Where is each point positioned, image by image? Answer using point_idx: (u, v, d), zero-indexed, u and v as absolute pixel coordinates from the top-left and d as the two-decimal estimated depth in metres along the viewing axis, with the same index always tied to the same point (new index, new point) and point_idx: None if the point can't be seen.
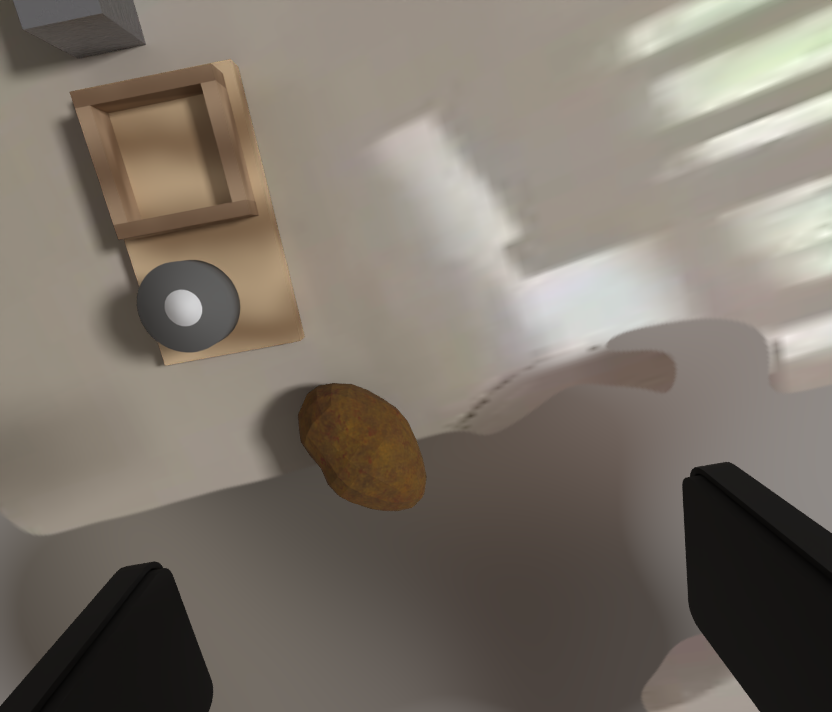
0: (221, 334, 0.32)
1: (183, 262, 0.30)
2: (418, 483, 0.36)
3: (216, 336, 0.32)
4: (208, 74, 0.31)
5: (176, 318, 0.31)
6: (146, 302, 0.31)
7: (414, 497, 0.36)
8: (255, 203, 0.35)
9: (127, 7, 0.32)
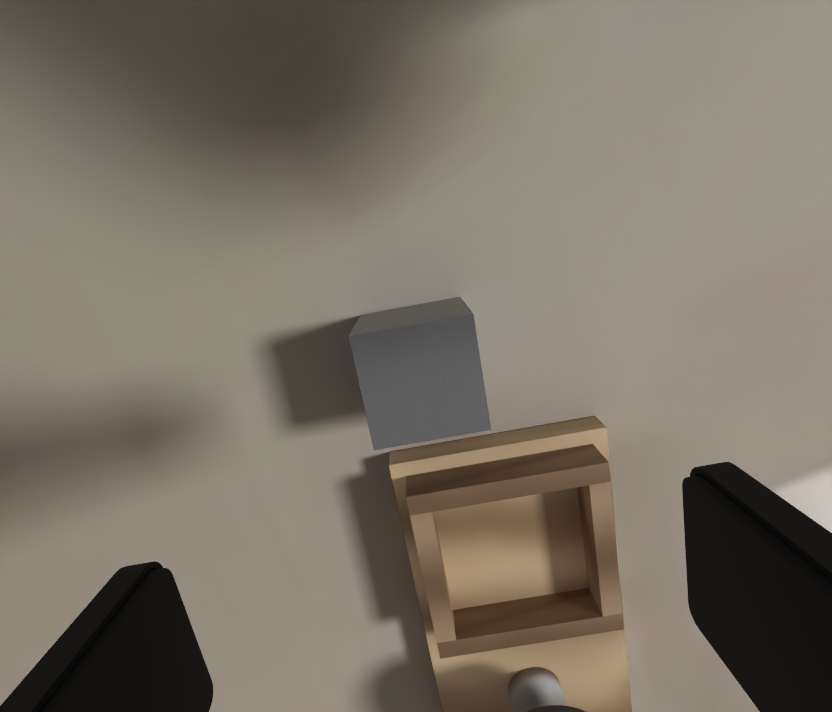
0: None
1: None
2: None
3: None
4: (602, 475, 0.22)
5: None
6: None
7: None
8: None
9: None
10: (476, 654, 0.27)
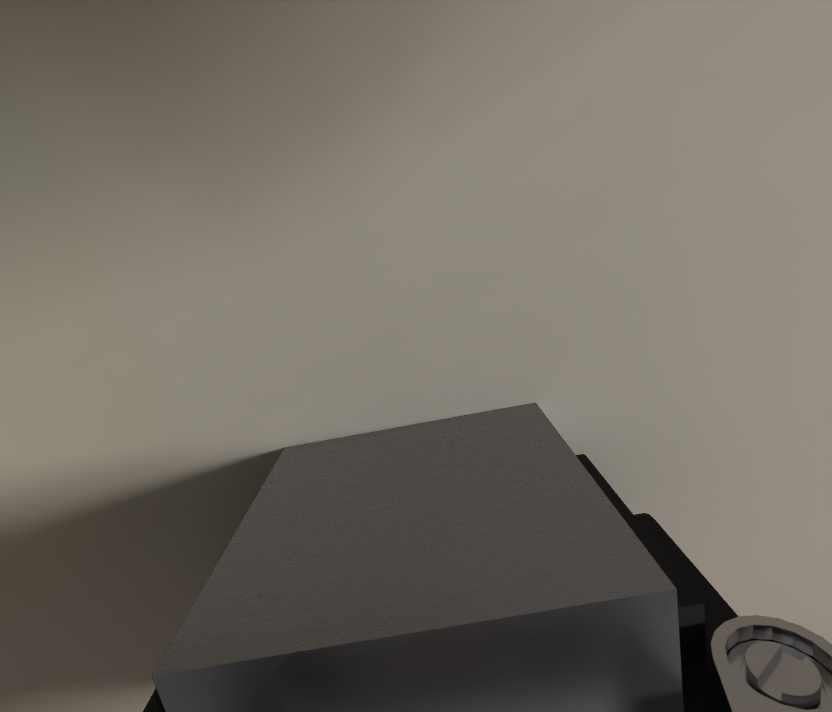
0: None
1: None
2: None
3: None
4: None
5: None
6: None
7: None
8: None
9: None
10: None
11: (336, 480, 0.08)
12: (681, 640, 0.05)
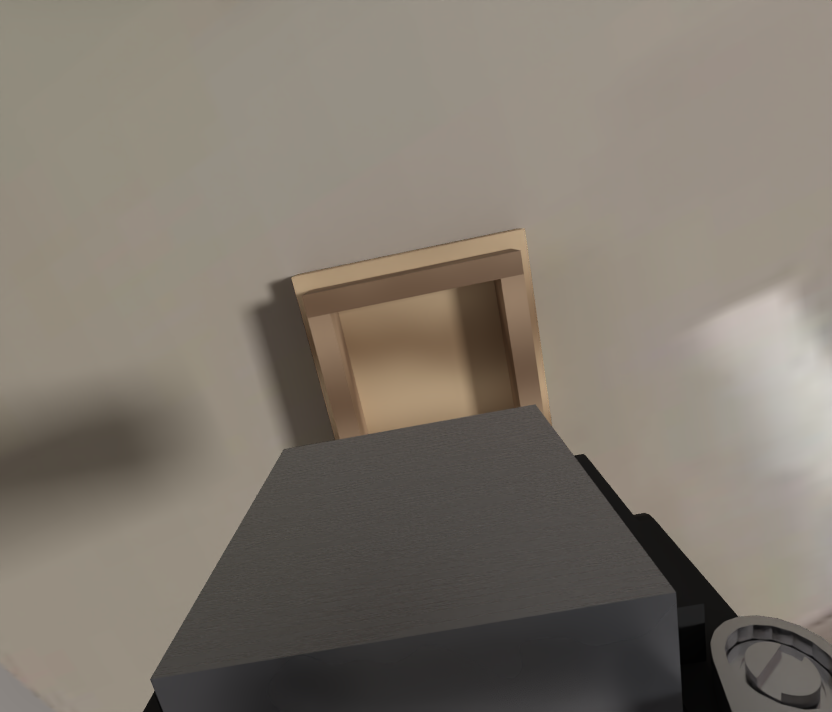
0: None
1: None
2: None
3: None
4: (514, 266, 0.20)
5: None
6: None
7: None
8: None
9: None
10: None
11: (335, 482, 0.08)
12: (681, 640, 0.05)
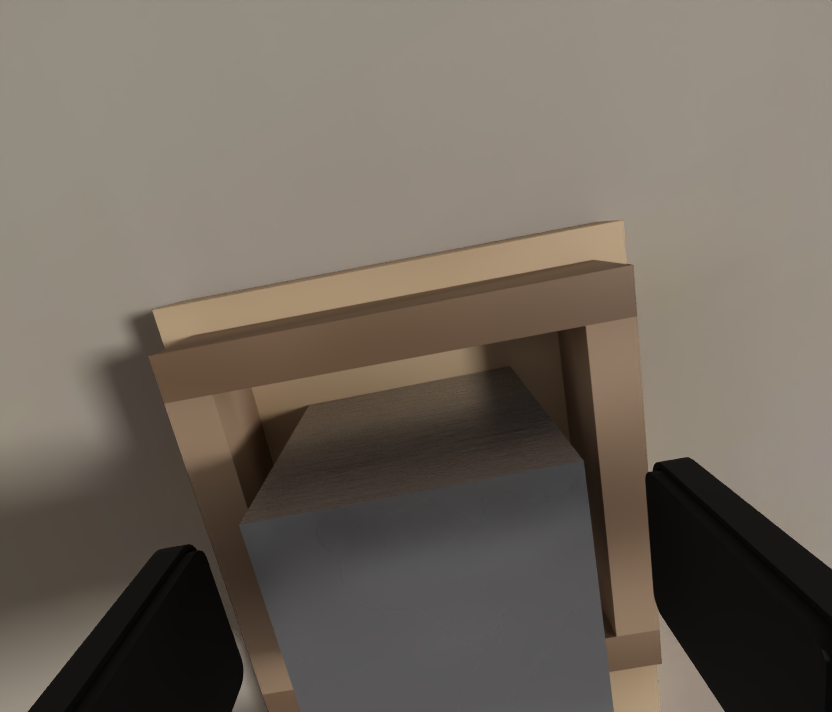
0: None
1: None
2: None
3: None
4: (617, 299, 0.09)
5: None
6: None
7: None
8: None
9: None
10: None
11: (353, 421, 0.10)
12: None
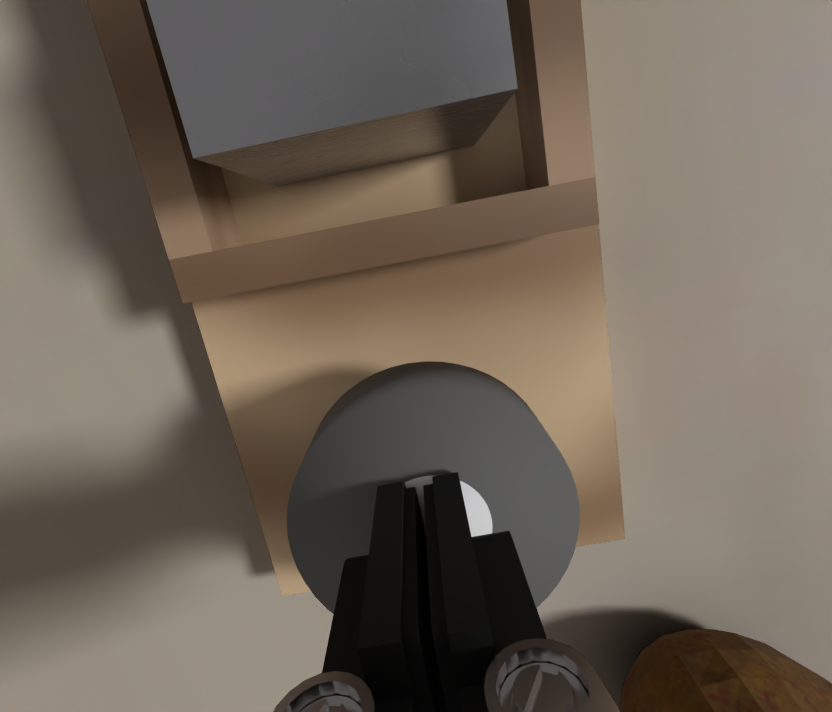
0: (539, 598, 0.10)
1: (450, 391, 0.09)
2: None
3: None
4: None
5: None
6: (317, 513, 0.10)
7: None
8: None
9: None
10: (304, 360, 0.13)
11: None
12: (474, 662, 0.06)
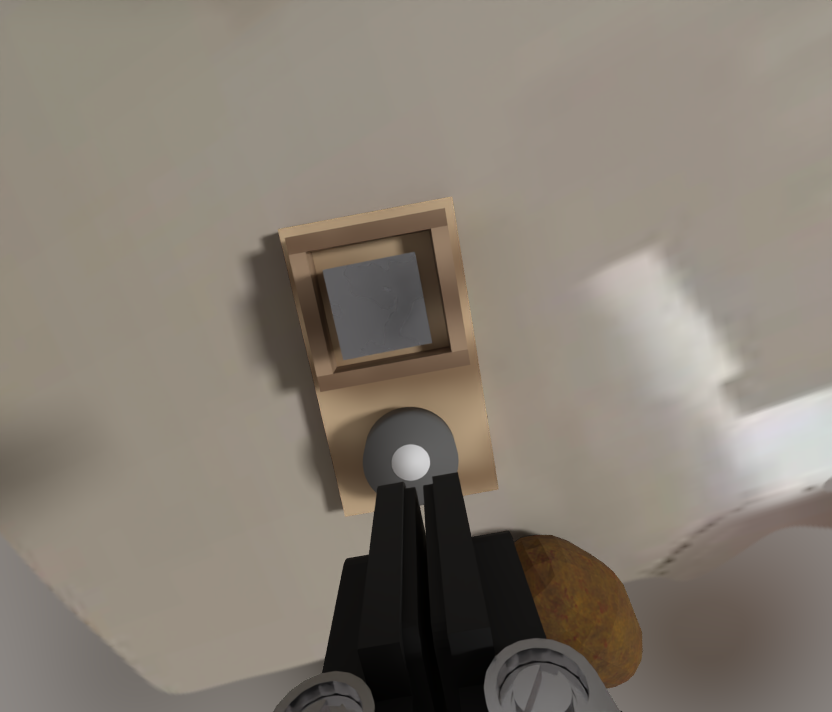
0: None
1: (415, 417, 0.29)
2: (641, 657, 0.32)
3: None
4: (440, 219, 0.28)
5: (401, 472, 0.30)
6: (372, 457, 0.30)
7: (634, 672, 0.32)
8: None
9: None
10: (359, 410, 0.32)
11: None
12: (474, 661, 0.06)
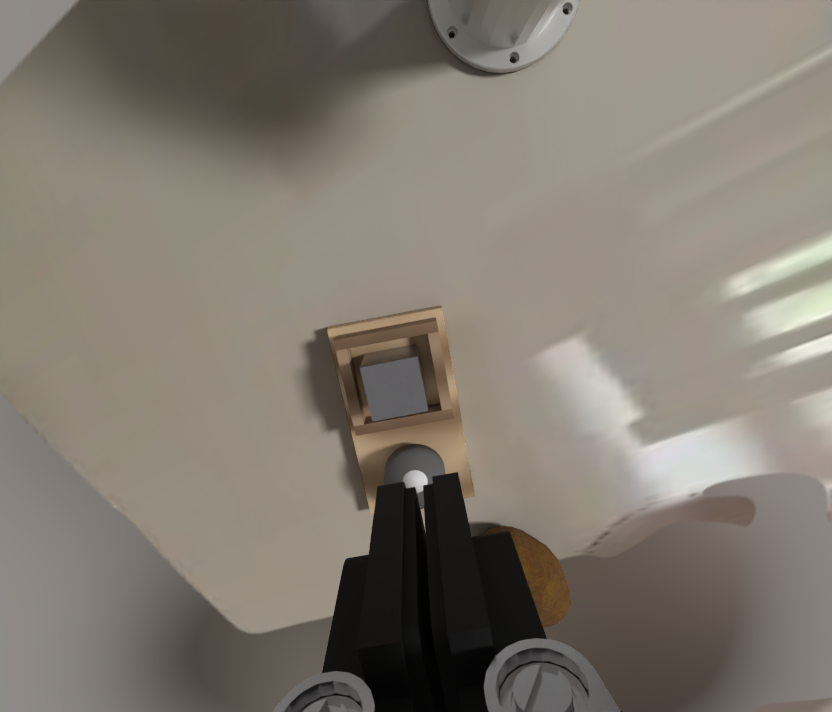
0: None
1: (418, 453, 0.45)
2: (568, 606, 0.48)
3: None
4: (434, 328, 0.43)
5: None
6: (390, 478, 0.45)
7: None
8: (450, 402, 0.47)
9: (423, 379, 0.45)
10: (380, 445, 0.48)
11: (377, 355, 0.44)
12: (474, 662, 0.06)
